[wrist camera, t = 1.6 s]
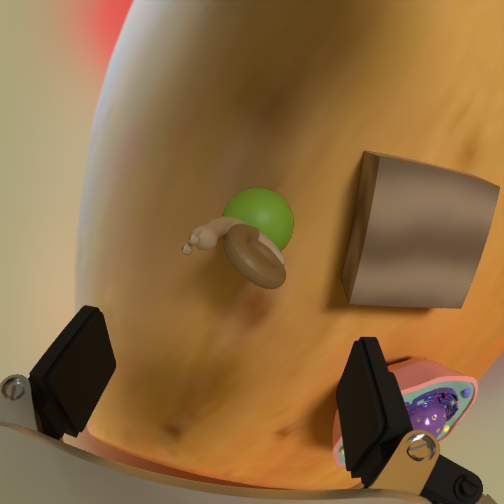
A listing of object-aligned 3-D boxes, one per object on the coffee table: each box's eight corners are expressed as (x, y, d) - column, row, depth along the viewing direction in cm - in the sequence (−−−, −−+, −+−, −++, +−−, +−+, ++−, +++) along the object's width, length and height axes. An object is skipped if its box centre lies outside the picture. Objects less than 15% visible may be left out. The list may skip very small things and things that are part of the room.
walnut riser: (364, 150, 23) (379, 157, 19) (475, 176, 22) (500, 186, 19) (341, 279, 28) (349, 304, 24) (444, 287, 27) (461, 308, 24)
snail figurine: (244, 160, 24) (217, 199, 13) (305, 208, 25) (326, 281, 14) (205, 210, 26) (157, 281, 15) (264, 253, 27) (256, 346, 17)
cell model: (298, 416, 37) (299, 487, 27) (382, 308, 29) (418, 391, 19) (391, 430, 39) (404, 488, 29) (476, 341, 31) (512, 403, 20)
